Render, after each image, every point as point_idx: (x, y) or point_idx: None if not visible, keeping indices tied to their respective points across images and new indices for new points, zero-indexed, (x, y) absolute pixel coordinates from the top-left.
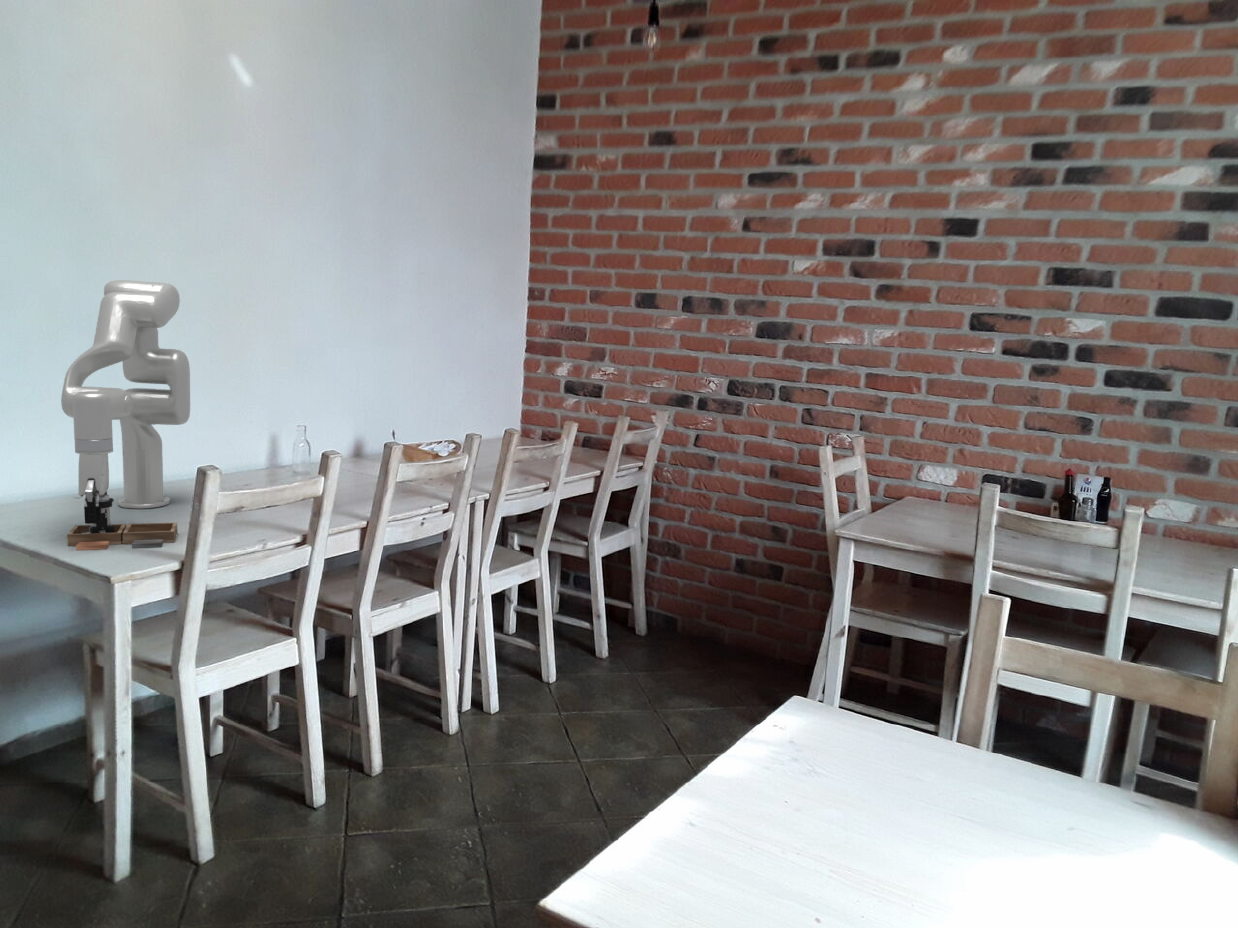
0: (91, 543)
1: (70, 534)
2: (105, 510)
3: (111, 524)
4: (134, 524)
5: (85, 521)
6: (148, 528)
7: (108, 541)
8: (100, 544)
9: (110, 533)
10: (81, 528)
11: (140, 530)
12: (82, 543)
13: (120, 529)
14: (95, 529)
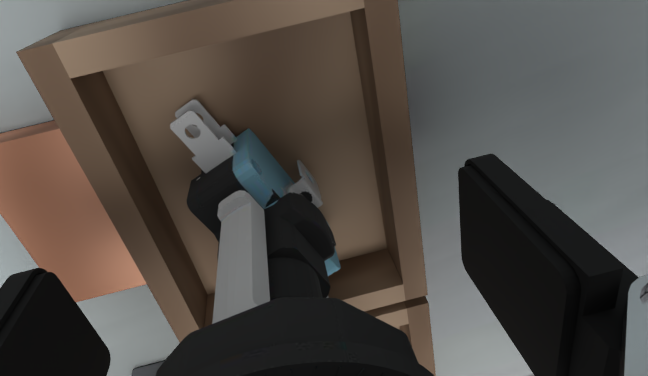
0: (62, 219)
1: (43, 74)
2: (469, 269)
3: (415, 228)
4: (411, 335)
5: (7, 288)
6: None
7: (142, 283)
8: (58, 274)
9: (168, 315)
10: (364, 30)
11: (401, 326)
12: (40, 166)
13: None
14: (207, 220)
